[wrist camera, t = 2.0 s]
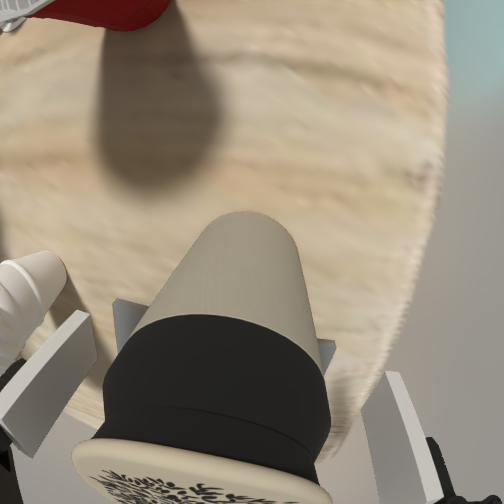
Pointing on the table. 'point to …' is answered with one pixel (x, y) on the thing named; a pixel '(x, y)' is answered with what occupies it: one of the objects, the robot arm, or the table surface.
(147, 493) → the travel mug
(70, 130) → the table surface
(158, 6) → the plastic cup
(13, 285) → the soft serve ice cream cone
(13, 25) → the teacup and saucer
